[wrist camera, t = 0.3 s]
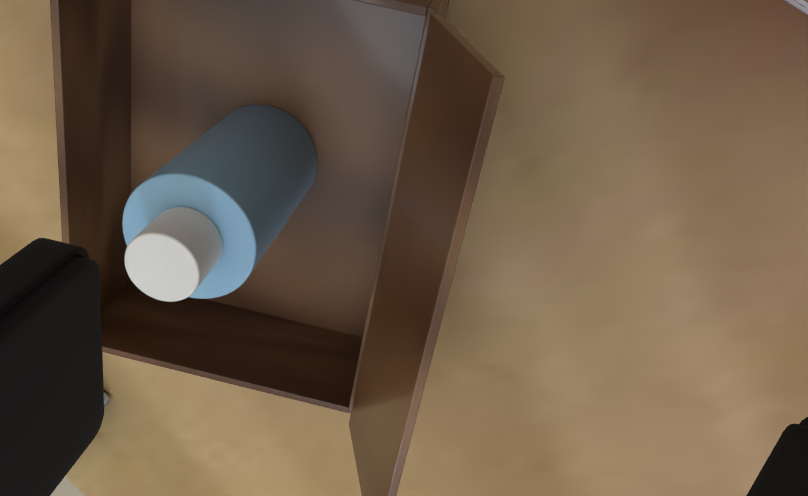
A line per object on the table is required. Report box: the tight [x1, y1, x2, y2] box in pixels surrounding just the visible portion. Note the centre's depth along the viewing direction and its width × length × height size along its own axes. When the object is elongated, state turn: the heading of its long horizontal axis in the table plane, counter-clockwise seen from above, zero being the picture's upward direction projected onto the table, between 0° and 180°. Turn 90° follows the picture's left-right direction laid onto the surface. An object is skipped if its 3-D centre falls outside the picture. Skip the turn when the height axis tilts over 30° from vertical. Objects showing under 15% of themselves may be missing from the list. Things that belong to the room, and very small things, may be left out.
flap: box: [349, 14, 504, 496], centre depth 22 cm, size 16×6×1 cm
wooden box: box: [50, 0, 449, 413], centre depth 28 cm, size 17×13×5 cm
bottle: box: [122, 105, 317, 302], centre depth 26 cm, size 5×5×10 cm
